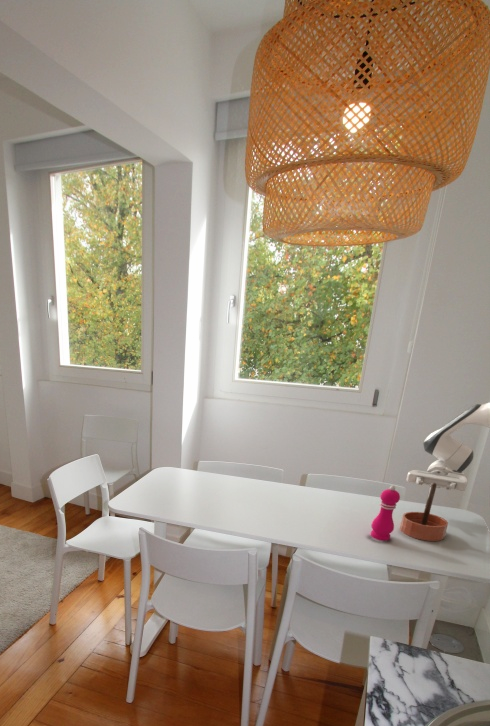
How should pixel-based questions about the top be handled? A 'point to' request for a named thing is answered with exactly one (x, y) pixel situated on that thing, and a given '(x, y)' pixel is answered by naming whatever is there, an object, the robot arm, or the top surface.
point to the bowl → (423, 526)
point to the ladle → (428, 504)
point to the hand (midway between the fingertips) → (434, 485)
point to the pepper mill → (385, 515)
